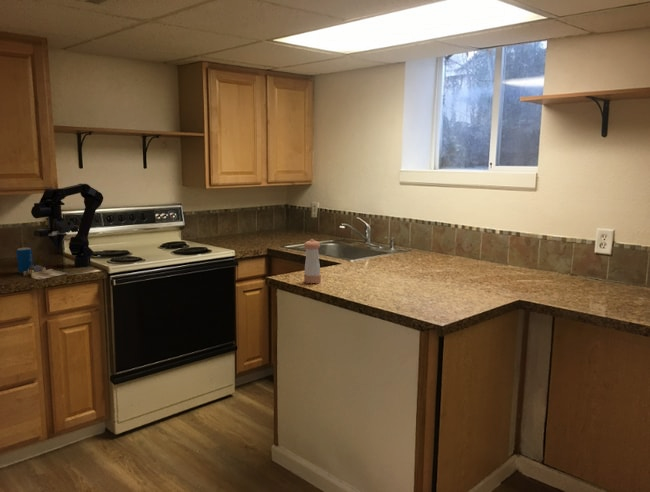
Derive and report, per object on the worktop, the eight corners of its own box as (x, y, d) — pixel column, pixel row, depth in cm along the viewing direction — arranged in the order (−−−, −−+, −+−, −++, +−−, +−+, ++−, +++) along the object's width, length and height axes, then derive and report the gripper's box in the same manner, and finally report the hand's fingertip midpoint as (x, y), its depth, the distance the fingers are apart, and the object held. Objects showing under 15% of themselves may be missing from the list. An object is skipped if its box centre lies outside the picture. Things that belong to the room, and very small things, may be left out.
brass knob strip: (29, 275, 253) (28, 268, 253) (35, 276, 251) (34, 270, 250) (25, 276, 252) (24, 269, 251) (31, 277, 249) (30, 270, 249)
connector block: (38, 273, 257) (37, 265, 256) (43, 274, 254) (42, 266, 254) (29, 275, 253) (28, 266, 252) (34, 276, 251) (33, 267, 250)
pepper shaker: (310, 285, 239) (309, 241, 235) (300, 281, 245) (300, 238, 241) (323, 282, 243) (323, 239, 240) (314, 279, 249) (314, 237, 245)
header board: (52, 271, 265) (51, 265, 264) (68, 275, 258) (68, 268, 257) (23, 277, 253) (22, 271, 252) (39, 281, 246) (38, 274, 245)
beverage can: (27, 275, 257) (24, 250, 255) (15, 275, 258) (12, 249, 256) (37, 272, 263) (34, 247, 261) (25, 271, 265) (22, 247, 263)
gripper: (45, 219, 242) (48, 254, 245) (83, 214, 258) (86, 247, 261) (31, 217, 248) (34, 251, 251) (69, 213, 264) (72, 245, 267)
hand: (58, 249), depth 257 cm, fingers closed
